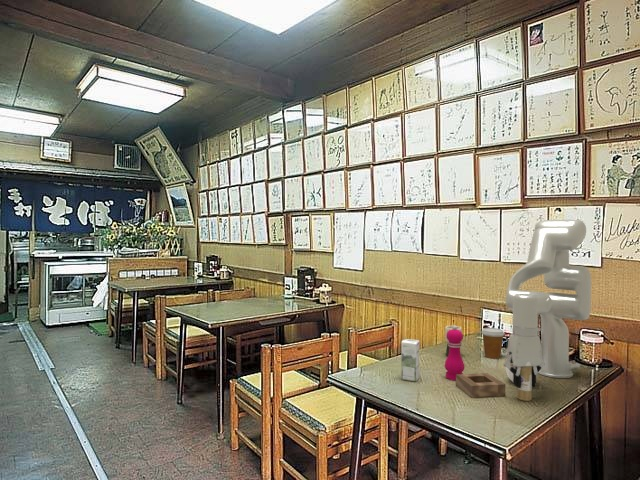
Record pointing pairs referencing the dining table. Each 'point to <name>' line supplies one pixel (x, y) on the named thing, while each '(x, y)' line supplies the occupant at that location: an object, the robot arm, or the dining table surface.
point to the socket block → (480, 385)
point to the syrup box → (410, 360)
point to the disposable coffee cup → (492, 342)
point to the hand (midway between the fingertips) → (524, 385)
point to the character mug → (446, 336)
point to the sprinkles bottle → (525, 383)
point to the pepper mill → (454, 354)
